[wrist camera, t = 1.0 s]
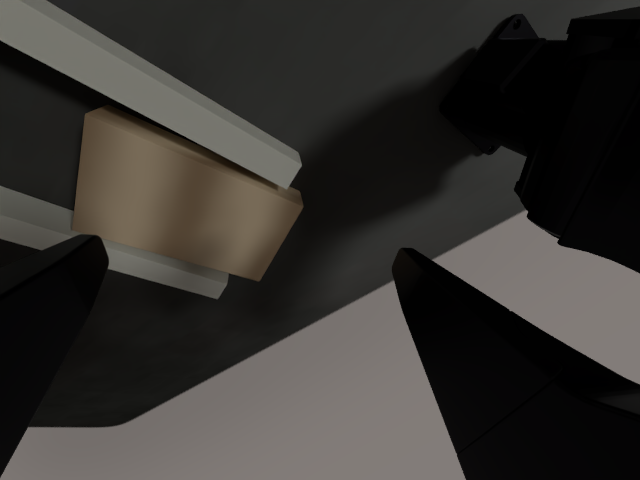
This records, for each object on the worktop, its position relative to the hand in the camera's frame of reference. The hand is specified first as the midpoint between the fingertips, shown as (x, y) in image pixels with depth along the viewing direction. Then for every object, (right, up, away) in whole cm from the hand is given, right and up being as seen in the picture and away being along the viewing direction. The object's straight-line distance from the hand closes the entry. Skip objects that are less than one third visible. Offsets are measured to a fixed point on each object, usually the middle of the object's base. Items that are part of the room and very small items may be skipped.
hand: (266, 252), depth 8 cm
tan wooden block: (-8, +4, +12) cm, 15 cm away
